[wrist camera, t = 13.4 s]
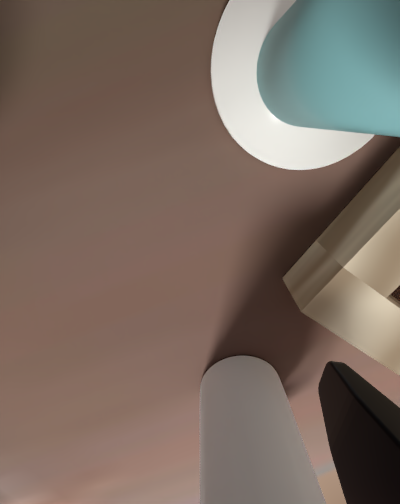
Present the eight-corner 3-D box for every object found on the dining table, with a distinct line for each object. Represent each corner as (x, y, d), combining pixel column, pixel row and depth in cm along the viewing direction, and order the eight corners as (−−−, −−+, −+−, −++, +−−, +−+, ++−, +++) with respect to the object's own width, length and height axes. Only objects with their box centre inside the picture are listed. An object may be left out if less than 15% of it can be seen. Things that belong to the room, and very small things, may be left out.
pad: (173, 95, 17) (172, 94, 16) (299, -113, 14) (305, -126, 13) (311, 201, 20) (315, 204, 19) (444, 43, 16) (456, 40, 16)
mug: (184, 366, 24) (177, 575, 13) (270, 340, 24) (340, 539, 12) (225, 450, 28) (247, 669, 17) (300, 430, 27) (375, 645, 16)
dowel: (244, 114, 17) (358, 110, 5) (274, -11, 15) (567, -458, 3) (340, 137, 17) (634, 178, 6) (383, 19, 15) (960, -273, 4)
